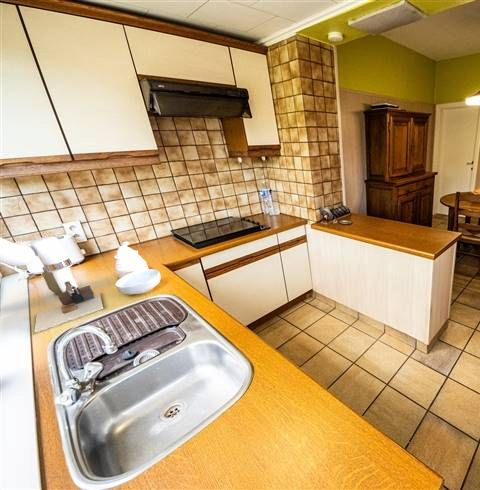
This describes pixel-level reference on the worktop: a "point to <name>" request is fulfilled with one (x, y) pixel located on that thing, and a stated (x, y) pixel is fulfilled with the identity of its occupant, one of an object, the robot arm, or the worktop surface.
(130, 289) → the cereal bowl
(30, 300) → the worktop surface
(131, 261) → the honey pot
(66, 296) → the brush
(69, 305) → the cork block
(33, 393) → the worktop surface
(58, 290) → the squeeze bottle
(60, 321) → the board
